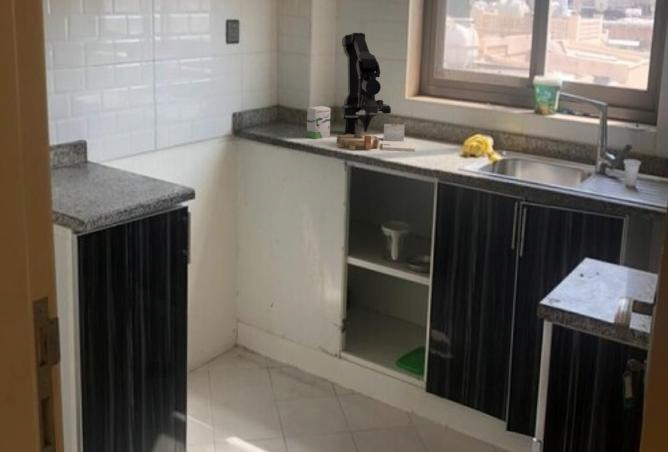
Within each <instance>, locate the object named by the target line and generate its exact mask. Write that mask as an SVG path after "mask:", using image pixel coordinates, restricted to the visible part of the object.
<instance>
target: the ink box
mask: <svg viewBox="0 0 668 452" xmlns="http://www.w3.org/2000/svg"><path fill="white" fill-rule="evenodd" d="M306 115H307V116H306V138H308V139H309V138H310V139H314V140H315V139H323V138H330V136H331V135H330V134H331V133H330V132H331V107H328V106H326V105H325V106H324V105H319V106H308V107H307V114H306Z"/></svg>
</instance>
